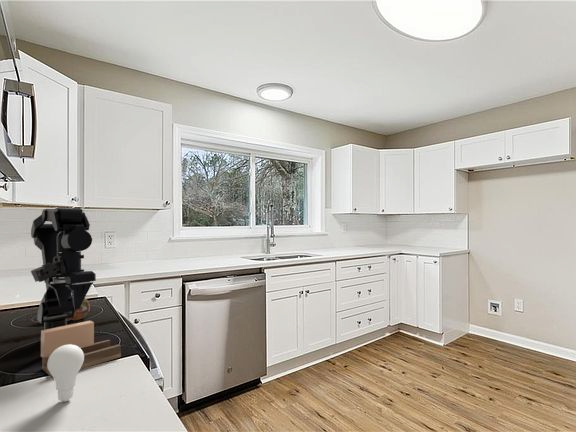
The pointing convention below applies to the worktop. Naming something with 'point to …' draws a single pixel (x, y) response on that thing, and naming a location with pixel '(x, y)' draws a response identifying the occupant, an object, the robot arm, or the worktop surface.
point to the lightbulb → (65, 369)
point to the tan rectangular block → (67, 336)
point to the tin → (81, 311)
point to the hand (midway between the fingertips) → (69, 308)
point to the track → (92, 354)
